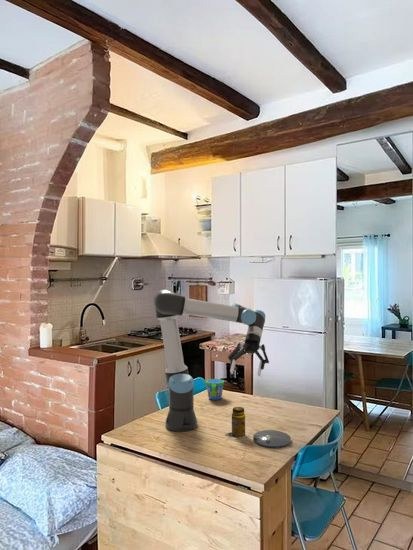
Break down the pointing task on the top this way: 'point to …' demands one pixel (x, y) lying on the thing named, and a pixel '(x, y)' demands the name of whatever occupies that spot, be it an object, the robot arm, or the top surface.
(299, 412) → the top surface
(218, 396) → the snack cup
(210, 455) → the top surface
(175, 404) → the robot arm
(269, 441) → the grey round disc
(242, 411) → the condiment
